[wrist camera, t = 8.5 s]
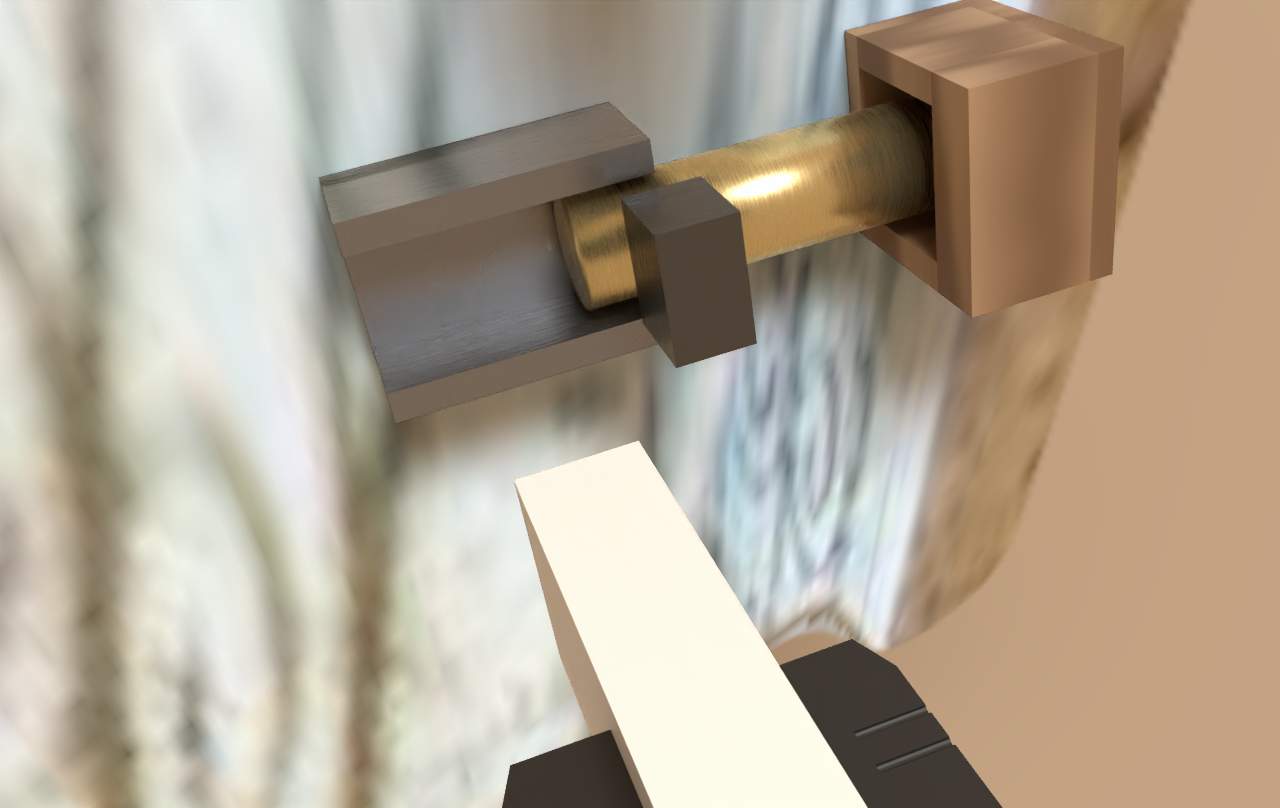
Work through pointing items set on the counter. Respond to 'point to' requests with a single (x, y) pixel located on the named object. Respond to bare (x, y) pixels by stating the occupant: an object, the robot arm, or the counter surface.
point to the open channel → (482, 258)
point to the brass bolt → (741, 219)
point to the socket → (1000, 148)
